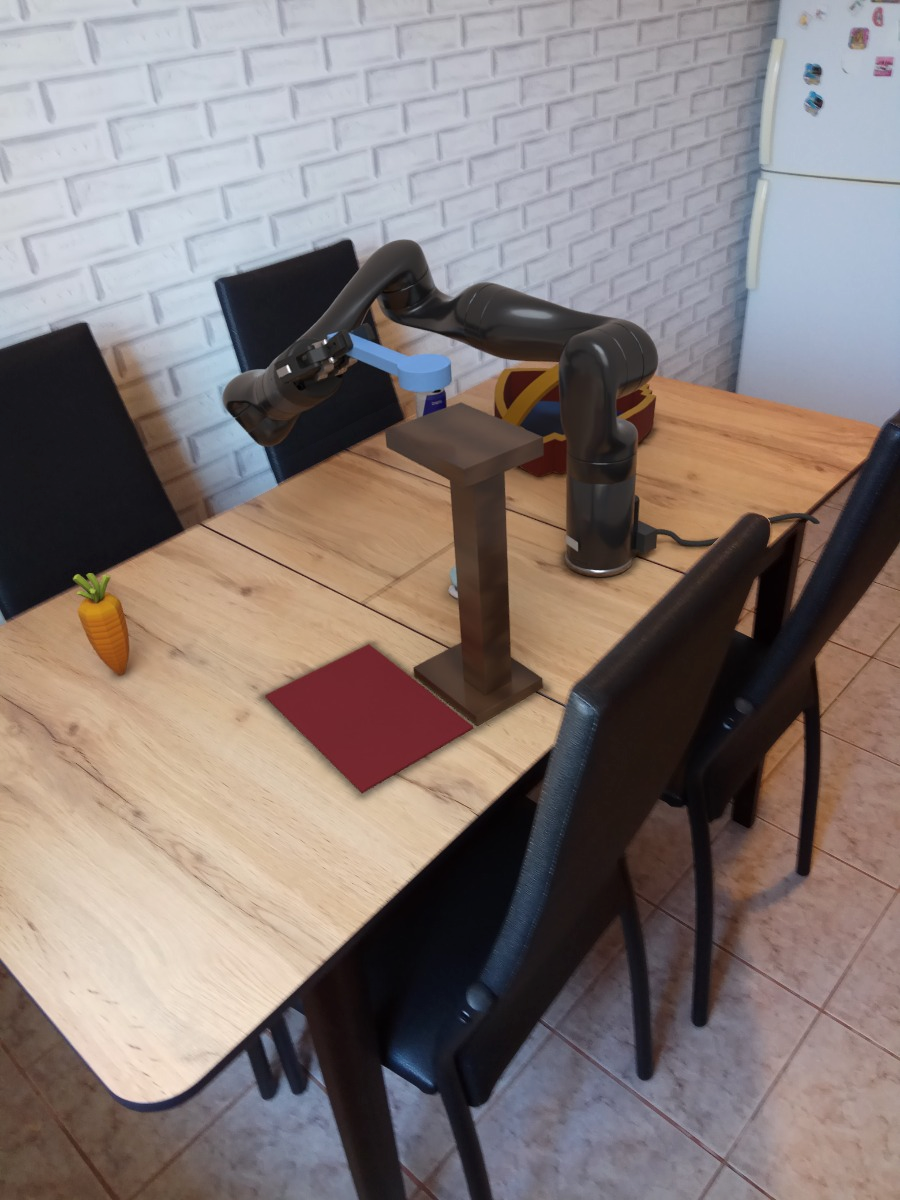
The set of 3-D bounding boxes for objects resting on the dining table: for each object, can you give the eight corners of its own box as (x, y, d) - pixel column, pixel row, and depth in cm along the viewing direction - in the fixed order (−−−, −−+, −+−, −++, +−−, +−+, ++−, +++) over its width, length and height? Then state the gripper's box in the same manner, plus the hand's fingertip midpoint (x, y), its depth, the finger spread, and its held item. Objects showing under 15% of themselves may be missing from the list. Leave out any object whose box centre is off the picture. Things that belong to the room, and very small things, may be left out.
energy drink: (446, 461, 162) (441, 395, 155) (416, 460, 163) (410, 395, 156) (452, 448, 166) (448, 383, 159) (423, 447, 167) (418, 383, 160)
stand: (475, 641, 117) (460, 402, 100) (545, 690, 109) (543, 436, 91) (411, 674, 113) (384, 429, 95) (479, 728, 104) (463, 469, 86)
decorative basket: (556, 504, 151) (568, 422, 141) (437, 432, 167) (440, 354, 157) (682, 440, 169) (700, 363, 159) (564, 381, 185) (574, 308, 175)
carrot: (149, 665, 118) (118, 564, 109) (126, 689, 114) (92, 587, 105) (117, 659, 119) (84, 559, 111) (92, 683, 115) (56, 581, 107)
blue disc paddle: (356, 338, 107) (354, 321, 106) (462, 381, 94) (461, 362, 93) (316, 350, 105) (313, 333, 103) (419, 396, 91) (418, 376, 90)
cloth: (369, 645, 118) (369, 643, 118) (473, 728, 104) (473, 726, 104) (265, 697, 111) (264, 695, 111) (361, 793, 97) (361, 791, 96)
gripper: (239, 363, 112) (290, 317, 97) (336, 335, 119) (398, 287, 104) (264, 422, 113) (317, 385, 98) (358, 390, 120) (422, 352, 105)
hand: (358, 335), depth 101 cm, fingers closed on blue disc paddle, 2 cm apart
